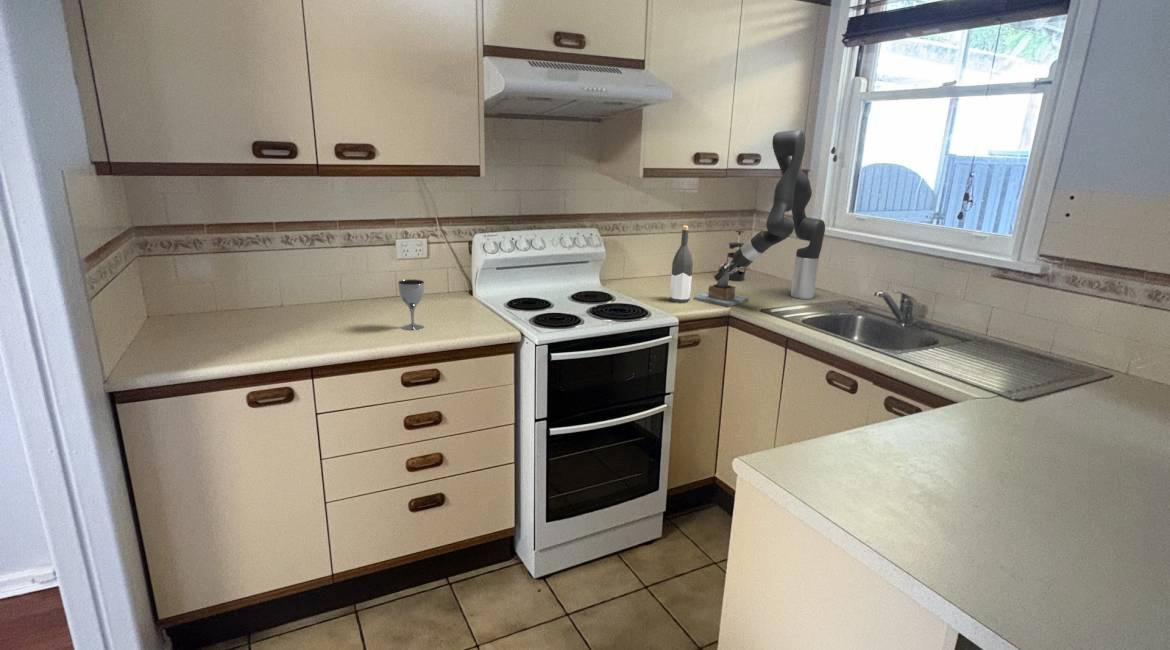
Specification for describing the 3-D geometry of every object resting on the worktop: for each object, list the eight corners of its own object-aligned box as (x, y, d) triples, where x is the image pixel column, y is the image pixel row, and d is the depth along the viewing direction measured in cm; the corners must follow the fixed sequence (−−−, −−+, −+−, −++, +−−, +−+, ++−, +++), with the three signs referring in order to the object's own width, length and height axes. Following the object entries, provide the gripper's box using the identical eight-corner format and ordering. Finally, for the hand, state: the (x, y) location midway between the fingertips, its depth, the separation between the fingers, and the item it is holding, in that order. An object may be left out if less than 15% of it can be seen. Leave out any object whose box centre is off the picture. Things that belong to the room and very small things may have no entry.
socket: (714, 293, 268) (715, 280, 267) (748, 300, 258) (749, 287, 256) (693, 299, 257) (694, 285, 256) (727, 307, 247) (729, 292, 245)
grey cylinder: (720, 287, 259) (722, 263, 257) (729, 289, 256) (732, 264, 254) (714, 288, 256) (716, 264, 253) (723, 290, 253) (726, 265, 251)
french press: (746, 282, 294) (752, 232, 288) (726, 280, 295) (731, 231, 289) (742, 276, 306) (747, 229, 299) (722, 275, 306) (727, 228, 300)
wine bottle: (688, 298, 257) (694, 225, 249) (690, 303, 250) (697, 227, 241) (668, 298, 258) (674, 224, 249) (670, 302, 250) (676, 226, 241)
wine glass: (395, 326, 204) (393, 281, 200) (416, 322, 210) (415, 278, 206) (408, 332, 199) (407, 285, 195) (430, 327, 205) (429, 282, 200)
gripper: (752, 243, 251) (723, 268, 262) (733, 246, 241) (704, 272, 252) (763, 259, 249) (732, 283, 260) (744, 262, 239) (714, 288, 250)
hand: (718, 278), depth 256 cm, fingers closed on grey cylinder, 4 cm apart
